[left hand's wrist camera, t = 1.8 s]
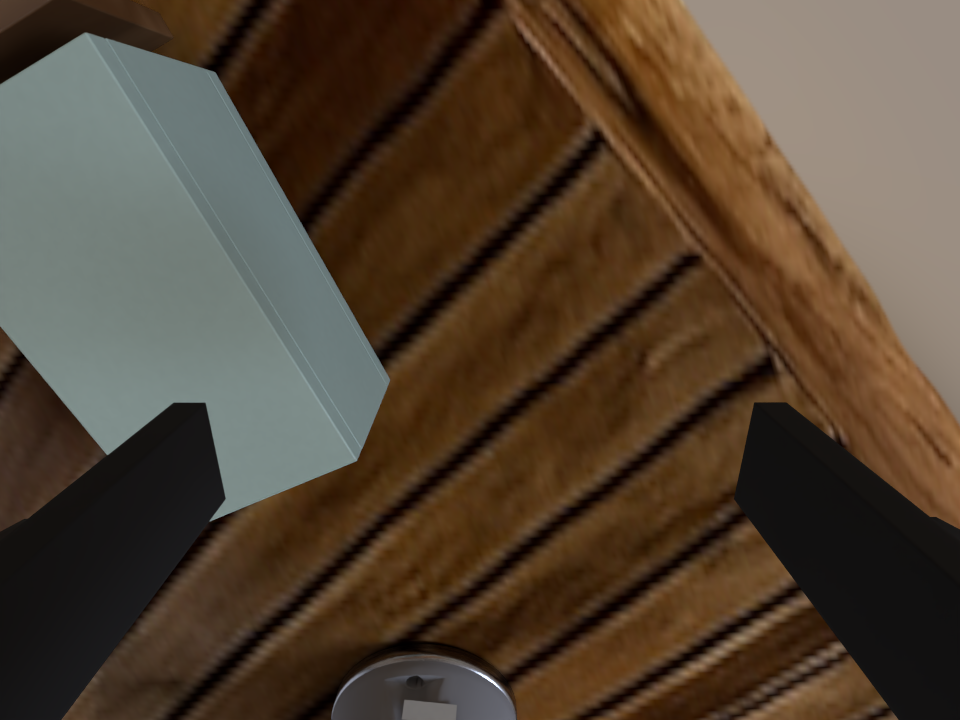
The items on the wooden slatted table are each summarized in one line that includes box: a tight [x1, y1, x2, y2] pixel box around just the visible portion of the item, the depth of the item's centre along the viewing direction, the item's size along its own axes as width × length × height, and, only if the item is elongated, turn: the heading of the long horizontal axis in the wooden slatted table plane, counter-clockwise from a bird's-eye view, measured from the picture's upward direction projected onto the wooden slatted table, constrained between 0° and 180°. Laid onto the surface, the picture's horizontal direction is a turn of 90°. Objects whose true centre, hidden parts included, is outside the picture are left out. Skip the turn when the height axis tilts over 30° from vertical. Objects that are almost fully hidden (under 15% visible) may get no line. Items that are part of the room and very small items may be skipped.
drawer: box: [0, 0, 173, 84], centre depth 24 cm, size 23×9×8 cm, turn 25°
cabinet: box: [0, 32, 390, 521], centre depth 27 cm, size 19×10×10 cm, turn 25°
